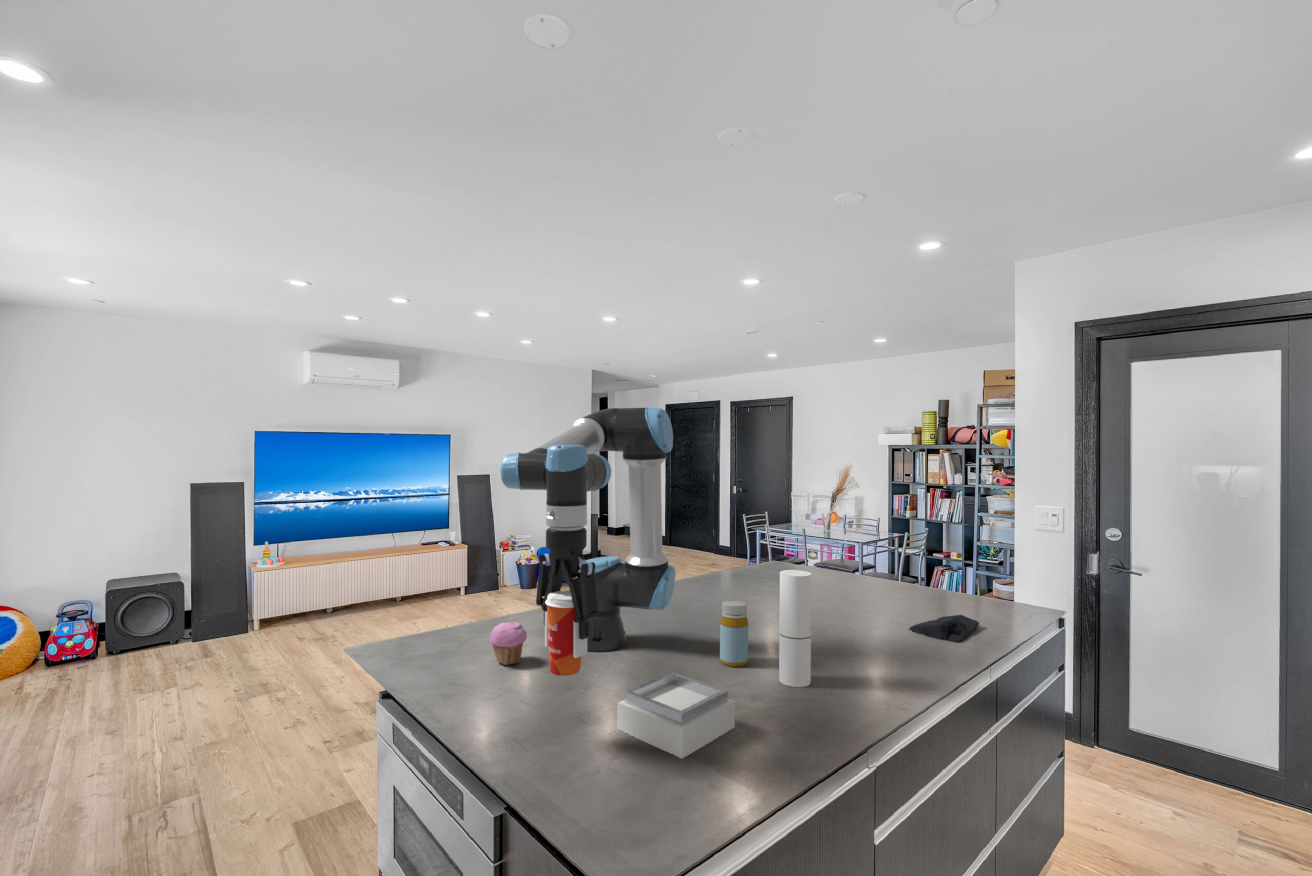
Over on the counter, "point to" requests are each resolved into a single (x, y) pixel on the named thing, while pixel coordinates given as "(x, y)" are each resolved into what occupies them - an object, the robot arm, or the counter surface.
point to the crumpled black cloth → (947, 628)
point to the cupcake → (508, 642)
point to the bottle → (734, 633)
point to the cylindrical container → (795, 628)
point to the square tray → (676, 713)
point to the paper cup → (561, 633)
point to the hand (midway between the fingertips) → (565, 649)
